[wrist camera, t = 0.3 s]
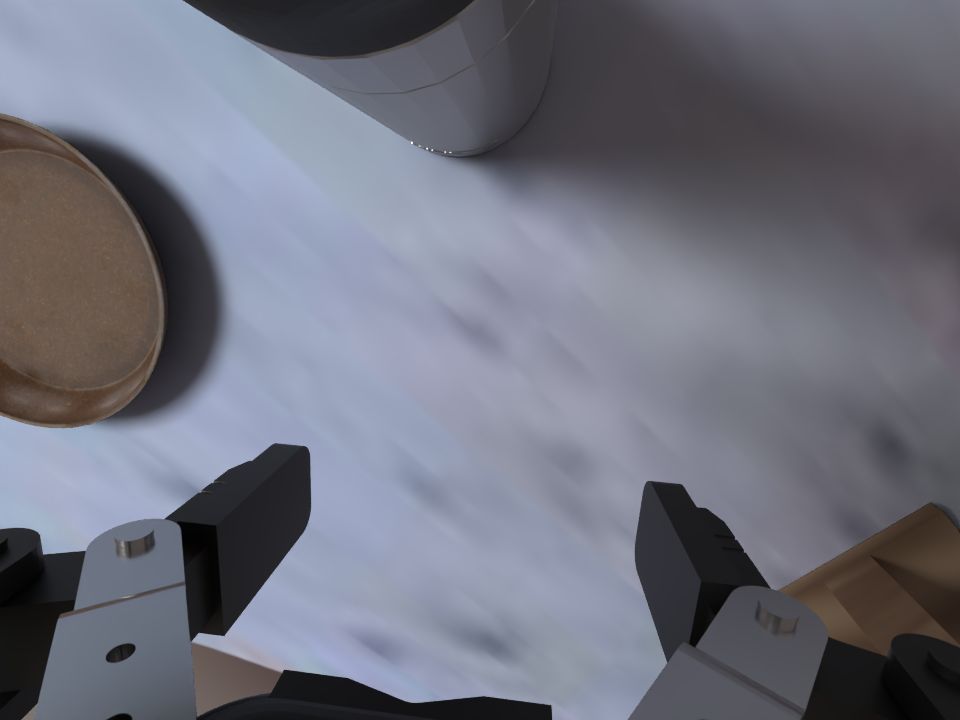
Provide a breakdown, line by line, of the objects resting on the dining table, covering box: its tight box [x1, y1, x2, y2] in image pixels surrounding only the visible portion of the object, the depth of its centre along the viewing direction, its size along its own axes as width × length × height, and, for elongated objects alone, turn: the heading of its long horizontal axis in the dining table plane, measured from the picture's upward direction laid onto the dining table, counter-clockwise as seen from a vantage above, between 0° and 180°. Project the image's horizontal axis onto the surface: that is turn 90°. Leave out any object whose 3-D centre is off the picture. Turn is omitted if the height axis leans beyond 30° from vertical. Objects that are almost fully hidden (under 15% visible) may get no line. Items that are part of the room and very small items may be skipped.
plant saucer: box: [0, 113, 168, 428], centre depth 29 cm, size 18×18×3 cm
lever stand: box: [779, 503, 960, 656], centre depth 26 cm, size 11×12×11 cm
